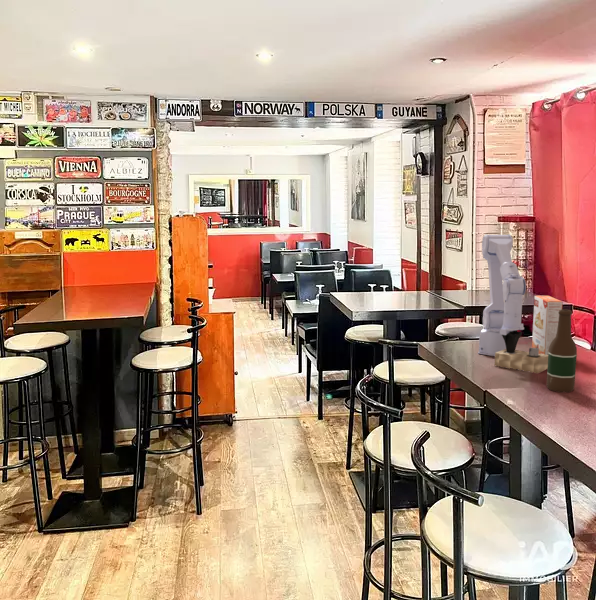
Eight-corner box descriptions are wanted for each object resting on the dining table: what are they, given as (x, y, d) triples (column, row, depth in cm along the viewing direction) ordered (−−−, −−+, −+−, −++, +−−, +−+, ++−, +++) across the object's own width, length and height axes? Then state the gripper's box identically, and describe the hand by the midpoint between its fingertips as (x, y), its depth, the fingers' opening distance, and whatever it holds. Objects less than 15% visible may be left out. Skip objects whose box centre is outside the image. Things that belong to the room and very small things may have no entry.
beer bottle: (573, 386, 198) (578, 308, 194) (575, 394, 191) (580, 312, 187) (545, 384, 200) (550, 307, 197) (546, 391, 193) (551, 311, 189)
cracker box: (530, 349, 248) (533, 295, 245) (546, 349, 248) (550, 295, 245) (543, 358, 234) (546, 300, 231) (560, 358, 234) (563, 300, 231)
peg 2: (527, 361, 218) (527, 348, 218) (530, 360, 221) (531, 347, 220) (535, 363, 216) (536, 350, 216) (539, 361, 219) (540, 348, 218)
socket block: (494, 365, 223) (495, 352, 222) (505, 361, 230) (506, 348, 229) (537, 373, 213) (538, 359, 213) (548, 368, 220) (549, 355, 219)
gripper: (515, 317, 213) (513, 358, 215) (532, 312, 224) (530, 350, 226) (494, 315, 218) (492, 354, 220) (512, 309, 229) (510, 347, 231)
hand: (510, 352), depth 223 cm, fingers closed, pressing on peg 1
